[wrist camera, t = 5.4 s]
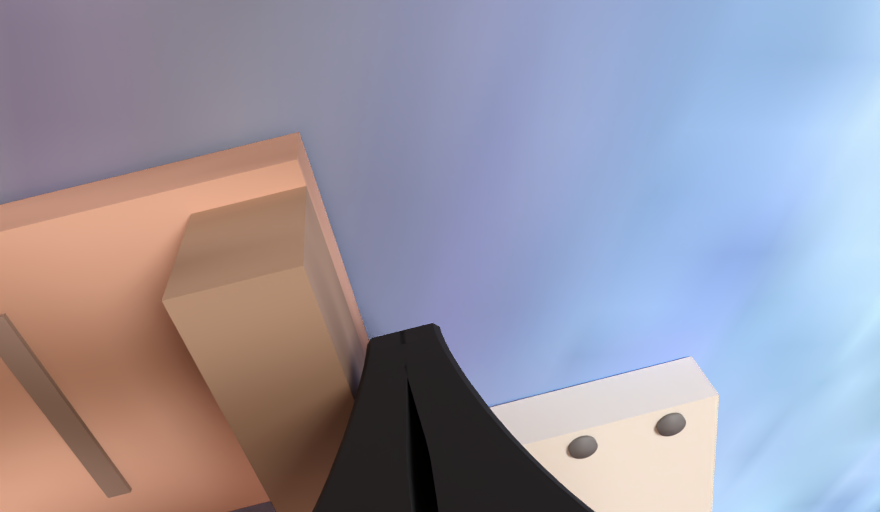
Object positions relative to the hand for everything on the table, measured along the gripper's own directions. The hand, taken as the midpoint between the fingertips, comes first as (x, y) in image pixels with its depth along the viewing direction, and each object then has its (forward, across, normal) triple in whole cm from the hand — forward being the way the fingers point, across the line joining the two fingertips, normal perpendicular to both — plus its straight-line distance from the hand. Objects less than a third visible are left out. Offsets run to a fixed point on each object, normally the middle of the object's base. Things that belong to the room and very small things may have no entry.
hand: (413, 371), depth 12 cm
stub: (+3, +6, 0) cm, 6 cm away
